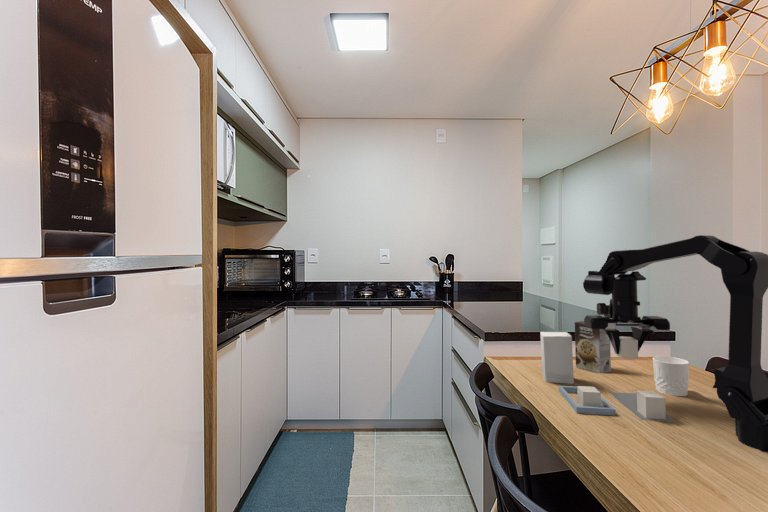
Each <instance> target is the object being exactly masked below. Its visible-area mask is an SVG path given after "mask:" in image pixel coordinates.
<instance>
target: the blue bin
mask: <svg viewBox="0 0 768 512" xmlns="http://www.w3.org/2000/svg"><path fill="white" fill-rule="evenodd" d="M558 392H559V393H560V395H562V397H563V399H564V400H565V401H566V402H567V403H568V404H569V405H570V407H571V408H572V409H573V411H574V412H575V413H576V414H584V415H585V414H586V415H602V416H616V408H615V407H614V406H612V405H611V404H610V403H609V402H608V401H607V400H606V399H605V398H604V397H603V396H601V407H587V406H580V405H579V404H578V402H576V400H574V398H573V397H572V396H571V395H570V394H569V393H577V386H572V385H571V386H570V385H567V386H566V385H558ZM577 394H578V393H577Z"/></svg>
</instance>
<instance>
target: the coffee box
mask: <svg viewBox="0 0 768 512" xmlns="http://www.w3.org/2000/svg"><path fill="white" fill-rule="evenodd" d="M574 341H575V342H574V346H575V347H574V348H575V353H574V354H575V367H576V368H578V369H580V370H581V369H582V370H585V371H587V372H591V373H594V374H607V373H610V372H612V367H611V366H612V363H611V362H612V361H611V360H612V359H611V358H612V356H611V341H610V339H609V337H608V335H607V333H606V332H605V331H604V330H602V329H592V328H590V327H588V326H586V325H584V320H583V321H582V320H581V321H575V322H574Z"/></svg>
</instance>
